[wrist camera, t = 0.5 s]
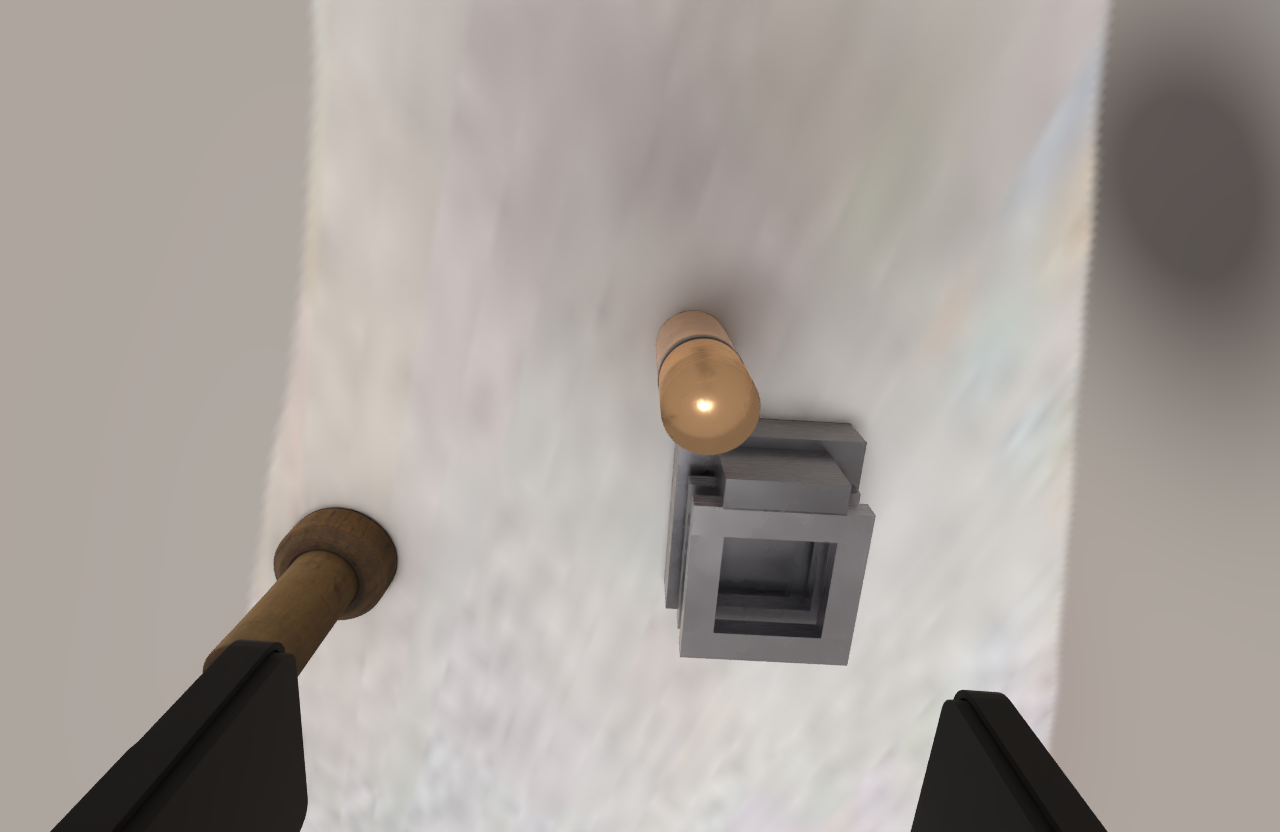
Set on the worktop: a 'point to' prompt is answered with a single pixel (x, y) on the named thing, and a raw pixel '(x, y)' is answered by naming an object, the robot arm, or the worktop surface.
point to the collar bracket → (769, 545)
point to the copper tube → (704, 386)
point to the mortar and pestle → (319, 582)
